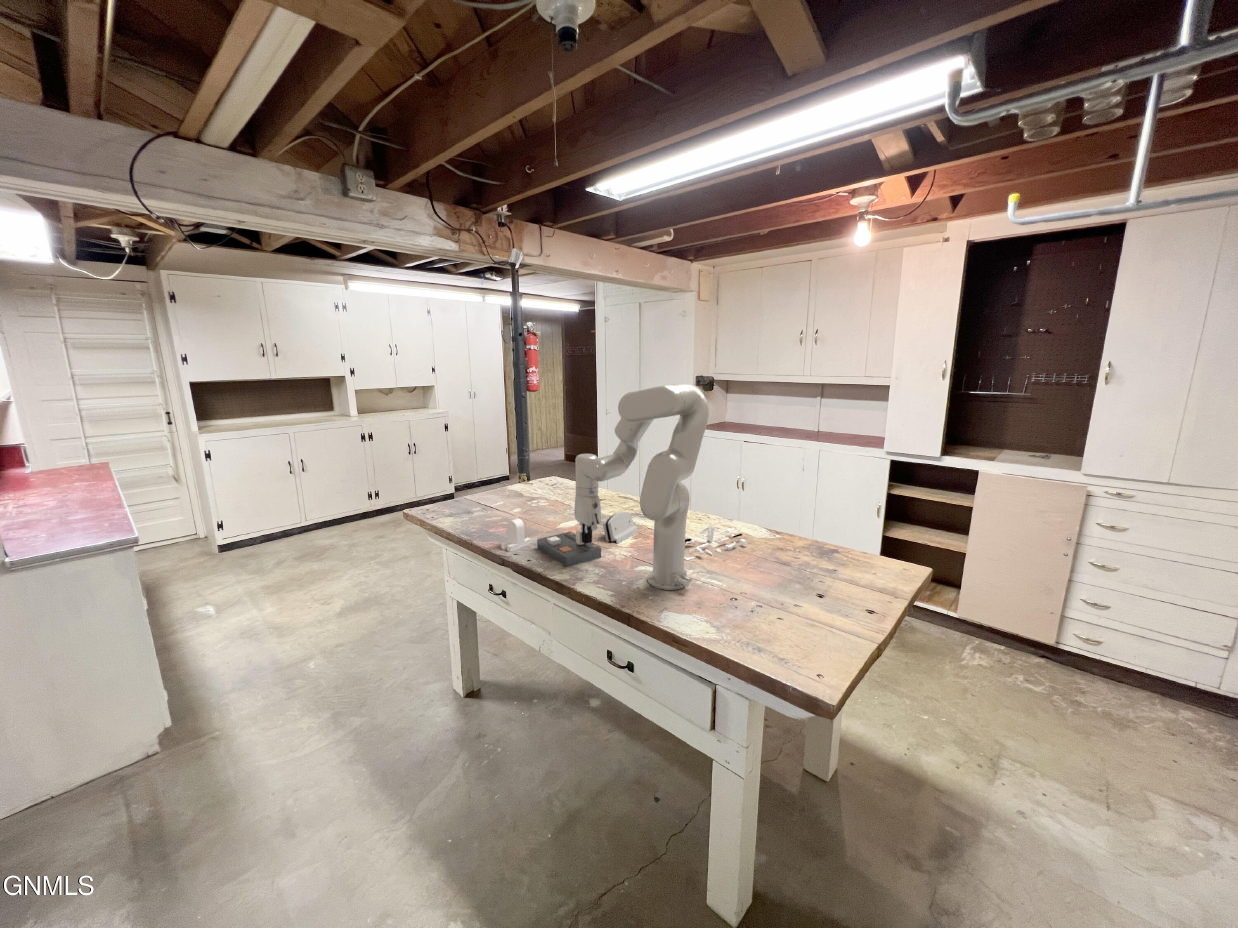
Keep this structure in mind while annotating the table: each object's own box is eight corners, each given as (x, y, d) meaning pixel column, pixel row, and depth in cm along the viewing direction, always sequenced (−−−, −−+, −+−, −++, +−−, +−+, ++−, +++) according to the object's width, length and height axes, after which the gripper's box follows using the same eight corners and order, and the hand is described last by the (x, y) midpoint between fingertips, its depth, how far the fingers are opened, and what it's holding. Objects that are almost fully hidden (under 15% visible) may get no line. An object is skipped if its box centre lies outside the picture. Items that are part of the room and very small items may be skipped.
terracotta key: (573, 556, 161) (572, 549, 161) (564, 558, 159) (564, 551, 159) (567, 552, 164) (567, 546, 164) (558, 555, 162) (558, 548, 161)
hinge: (617, 544, 175) (609, 518, 175) (607, 545, 178) (599, 520, 178) (639, 531, 189) (632, 507, 189) (629, 532, 192) (622, 509, 192)
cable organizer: (531, 543, 175) (530, 517, 173) (510, 551, 168) (509, 525, 166) (521, 540, 179) (520, 515, 176) (500, 548, 171) (499, 521, 169)
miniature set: (731, 533, 186) (754, 548, 176) (657, 555, 169) (677, 573, 160) (733, 519, 183) (756, 533, 173) (658, 539, 167) (678, 557, 157)
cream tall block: (587, 542, 166) (587, 530, 165) (579, 544, 164) (579, 532, 163) (583, 540, 168) (583, 529, 167) (576, 542, 166) (575, 530, 165)
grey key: (560, 545, 167) (560, 539, 167) (552, 548, 165) (552, 541, 165) (555, 542, 170) (555, 536, 169) (547, 545, 168) (547, 538, 167)
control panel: (601, 557, 164) (601, 547, 163) (566, 567, 155) (566, 557, 154) (570, 540, 179) (570, 531, 178) (537, 548, 171) (537, 539, 170)
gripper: (609, 494, 156) (608, 546, 159) (583, 484, 167) (584, 533, 171) (590, 497, 151) (590, 551, 155) (565, 487, 163) (566, 538, 166)
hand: (586, 542), depth 163 cm, fingers closed
